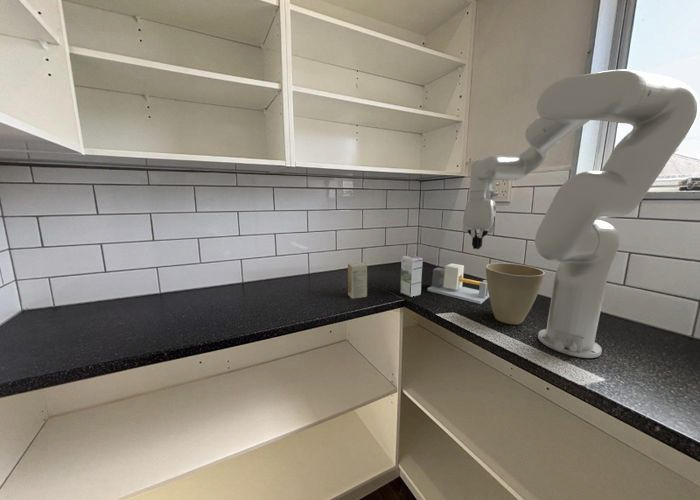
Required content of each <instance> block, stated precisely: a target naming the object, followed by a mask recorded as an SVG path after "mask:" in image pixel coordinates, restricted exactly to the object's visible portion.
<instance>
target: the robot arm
mask: <svg viewBox="0 0 700 500" xmlns="http://www.w3.org/2000/svg"><path fill="white" fill-rule="evenodd" d="M536 111H537V114H538V117H537V118H536V119H534V121H532V122H531V123H530V124H529V125H528V126H527V127H526V129H525V133H524V135H525V136H524V137H525V139H526V142H527V143H528V145H529V147H528V148H527V149H525V150H524V151H523V152H521V153H520V154H519V155H518V156H515V155H499V154H497V155H495V154H494V155H490V156H486V157H485V158H483V159H478V160H475V161H473V162H472V163H471V166H470V176H469V193H468V200H467V201H466V202H465V207H464V211H463V216H462V232H465V233H467V234H469V235H470V236H471V239H472V241H471V247H472V248H473V250H475V249H476V250H479V249H481V248H482V246H483V241H484V240H483V238H484V237H485V236H486V235H488V234H493V233H496V230H495V227H496V225H497V207H496V201H495V200H494V198H498V193H497V192H494V183H495V181H510V182H511V181H512V182H513V181H517V180H518V181H519V180H521V179H523V178H525V177H526V176H528V175H530V174H531V173H533V172H534V171H536V170H537V169H538V168H539V167H541V166H542V164H544V162H545V161H546V159H547V157H548V156H549V153H550V150H551V149H553V147H555V146H556V145H558V143H560V142H561V141H563V140H564V139H566V138H567V137H569V136H570V135H572V134H573V133H574V132H576V131H577V130H579V129H580V128H581V127H583V126H585V125H586V124H587V123H588V122H590V121H600V122H601V121H602V122H609V123H617V124H628V125H631V126H632V129H631V131H629V132H628V133H627V134H626V135H625V136H624V137H623V138H622V139H621V140H620V141H619V142H618V143H617V145H616V146H615V147H614V148H613V149H612V152H611V153H610V155H609V157H608V159H607V160H606V162H605V164H604V165H603V167H602V168H601V169H600V170H588V171H582V172H579V173H577V174H574V175H573V176H571V177H570V178H568V179H567V180H566V181H565V182H564V183H563V184H562V185H561V186H560V187H559V189H558V190H557V191H556V194H555V195H554V197H553V199H552V201H551V203H550V205H549V207H548V208H547V211H546V213H545V214H544V217H543V219H542V220H541V222H540V224H539V227H538V228H537V230H536V233H535V239H534V240H535V241H534V246H535V249H536V251H537V253H538V255H540V256H541V258H543V259H546V260H548V261H552V262H559V264H558V266H557V268H556V270H555V276H554V278H553V279H554V280H553V287H552V293H551V297H550V305H549V310H548V316H547V317H548V318H547V322H546V324H547V325H546V328H544V329H541V330H539V331H538V334H537V339H538V340H539V341H540V343H542V344H543V345H545V346H546V347H548V348H550V349H552V350H554V351H556V352H558V353H562V354H564V355H567V356H570V357H577V358H583V359H594V358H598V357H600V356H601V355H602V351H603V349H602V347H601V345H599V344H598V342H595V341H596V336H597V330H598V326H599V321H600V315H601V311H602V306H603V301H604V295H605V290H606V287H607V282H608V277H609V274H610V273H609V272H610V269H611V266H612V264H613V262H614V260H615V257H616V255H617V253H618V250H619V248H620V242H621V239H620V234H619V232H618V230H617V229H616V227H614V225H612V224H611V223H609V222H607V221H605V220H600V219H601V218H602V219H604V218H606V219H607V218H621V217H623V216H626V215H629V214H630V213H632V212H634V210H636V208H637V207H638V206H639V205H640V203H641V202H642V201H643V200H644V197H645V196H646V194H647V193H648V192H649V190H650V189H651V187H652V186H653V184H654V183H655V181H656V180H657V178H658V177H659V176H660V174H661V173H662V171H663V170H664V168H665V167H666V165H667V163H668V162H669V160H670V159H671V158H672V156H673V154H674V153H675V152H676V150H677V149H678V148H679V146H680V145H681V144H682V143H683V141H684V140H685V139H686V137H687V135H688V134H689V133H690V132H691V130H692V128H693V126H694V125H695V122H696V121H697V118H698V116H699V112H700V101H699V98H698V95H697V93H696V92H695V91H694V90H693V89H692V88H691V87H690V86H689V85H687V84H686V83H684V82H682V81H680V80H677V79H675V78H672V77H668V76H663V75H659V74H652V73H647V72H643V71H637V70H632V69H612V70H611V69H610V70H605V71H600V72H593V73H587V74H580V75H574V76H573V75H571V76H565V77H563V78H560V79H557V80H556V81H554V82H552V83H550V85H549V86H547V87H546V88H544V90H543V91H542V92H541V95H540V96H539V98H538V100H537V103H536ZM598 218H599V219H598ZM478 230H479V231H478Z"/></svg>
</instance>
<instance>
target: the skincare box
mask: <svg viewBox="0 0 700 500" xmlns="http://www.w3.org/2000/svg"><path fill="white" fill-rule="evenodd" d="M347 295H348V297H349V298H350V299H353V300H354V299H360V298H366V297H368V265H367V264H366V263H364V262H355V263H352V262H351V263H348V264H347Z"/></svg>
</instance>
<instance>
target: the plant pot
mask: <svg viewBox="0 0 700 500" xmlns="http://www.w3.org/2000/svg"><path fill="white" fill-rule="evenodd" d="M485 272H486V275H485V276H486V277H485V278H486V281H487V287H488V293H489V297H488V299H489V303H490V306H491V308H492V309H491V310H492V313H493V317H494V318H495V319H496V320H497V321H499V322H501V323H504V324H509V325H520V324H522V323H523V322H524V321H525V319H526V317H527V315H528V314H529V313H530V311H531V309H532V307H533V305H534V303H535V301H536V298H537V297H538V294H539V292H540V289H541V286H542V284H543V280H544V278H545V274H546V272H545V271H544V270H543V269H540V268H537V267H535V266H530V265H525V264H519V263H518V264H517V263H509V262H508V263H507V262H496V263H495V262H493V263H488V264H486V266H485Z"/></svg>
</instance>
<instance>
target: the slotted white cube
mask: <svg viewBox="0 0 700 500" xmlns="http://www.w3.org/2000/svg"><path fill="white" fill-rule="evenodd" d="M444 269H445V275H444V287H445V288H450V289H454V290H457V289H459V288H460V287H463V283H464V282H461V281H458V280H459V278H464V271H465V265H463V264H457V263H452V262H451V263H449V264H447V265H444Z"/></svg>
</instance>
